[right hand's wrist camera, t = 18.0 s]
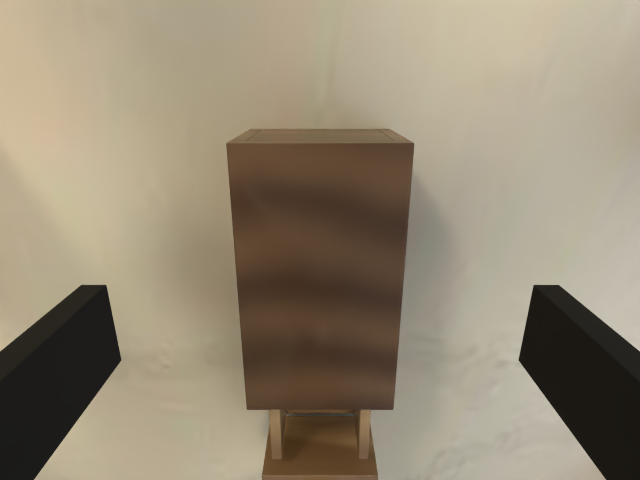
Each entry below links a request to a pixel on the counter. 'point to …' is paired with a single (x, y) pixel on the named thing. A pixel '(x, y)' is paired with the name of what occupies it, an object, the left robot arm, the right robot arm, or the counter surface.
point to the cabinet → (320, 264)
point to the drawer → (320, 446)
